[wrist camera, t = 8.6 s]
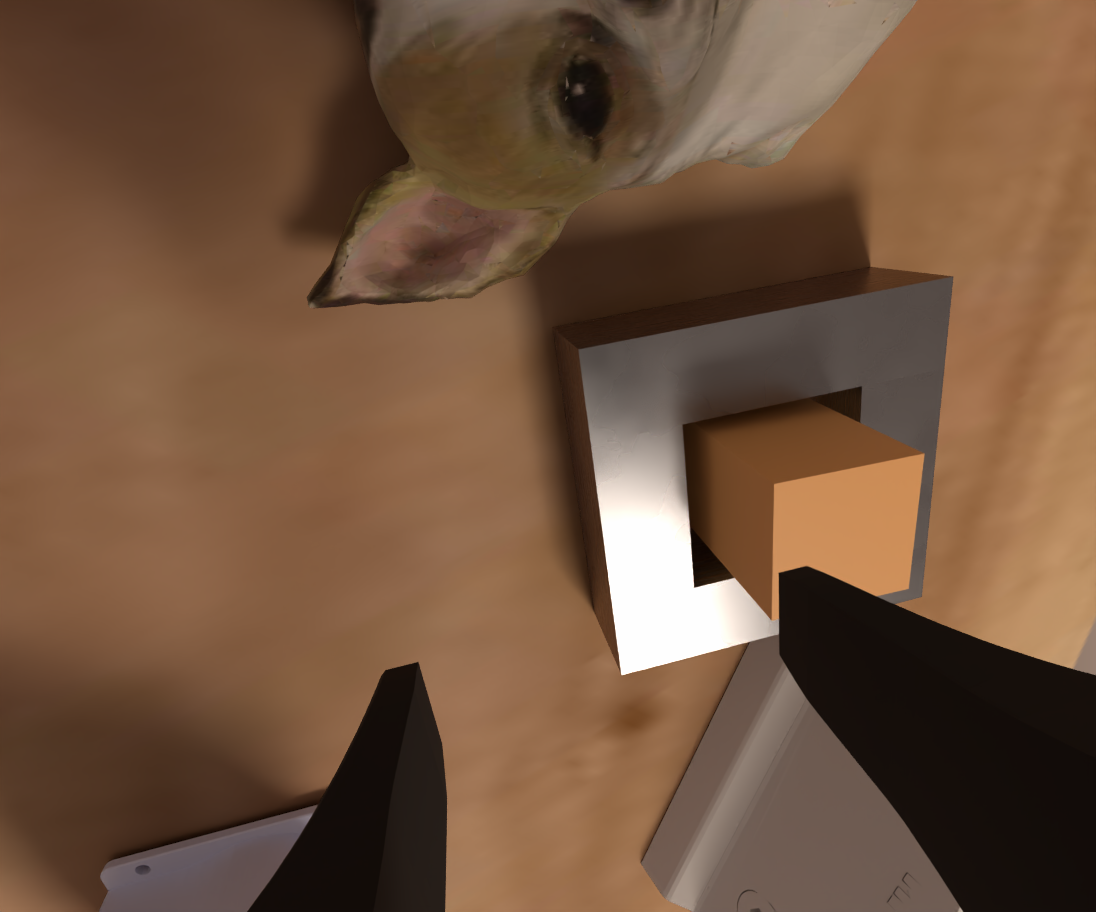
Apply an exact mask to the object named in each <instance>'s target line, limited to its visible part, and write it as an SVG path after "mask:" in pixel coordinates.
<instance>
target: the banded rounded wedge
mask: <svg viewBox="0 0 1096 912" xmlns="http://www.w3.org/2000/svg"><path fill="white" fill-rule="evenodd" d="M641 864H642V866H643V867H644V869H645V870H646V872H647V873H648V875H649V876H650V878H651V879H652V881H653V882H654V884H655V885H656V887H657V888H658V890H659V891H660V893H661V894H662V896H663V897H664V898H665V899H667V900H668V901H670V902H672V903H674V904H677V905H679V906H681V907H684V908H686V909H688V910H690V911H692V912H963V911H962V909H961V908H960V906H959V905H958V903H957V902H956V900H955V898H954V897H953V895H952V894H951V892H950V891H949V889H948V887H947V886H946V884H945V883H944V881H943V880H942V878H941V876H940V875H939V873H938V872H937V870H936V869H935V867H934V866H933V864H932V863H931V862H930V860H929V859H928V857H927V856H926V854H925V853H924V851H923V850H922V848H921V847H920V845H919V844H918V842H917V841H916V839H915V838H914V836H913V835H912V833H911V832H910V830H909V829H908V827H907V826H906V824H905V823H904V821H903V820H902V819H901V817H900V816H899V815H898V813H897V812H896V811H895V809H894V808H893V807H892V805H891V804H890V803H889V801H888V800H887V799H886V797H885V796H884V795H883V794H882V792H881V791H880V790H879V789H878V787H877V786H876V785H875V784H874V783H873V781H872V780H871V779H870V778H869V776H868V775H867V774H866V773H865V771H864V770H863V769H862V768H861V766H860V765H859V764H858V763H857V762H856V760H855V759H854V758H853V757H852V755H851V754H850V753H849V752H848V750H847V749H846V748H845V747H844V745H843V744H842V743H841V742H840V741H839V739H838V738H837V737H836V736H835V734H834V733H833V732H832V731H831V729H830V728H829V727H828V726H827V724H826V723H825V722H824V721H823V719H822V718H821V717H820V716H819V714H818V713H817V712H816V711H815V709H814V708H813V707H812V705H811V704H810V703H809V702H808V700H807V699H806V697H805V696H804V694H803V693H802V691H801V689H800V688H799V686H798V685H797V683H796V682H795V680H794V678H793V677H792V675H791V673H790V672H789V670H788V668H787V667H786V665H785V663H784V662H783V660H782V658H781V657H780V655H779V634H777V635H773V636H770V637H766V638H762V639H758V640H754V641H750V643H749V645H748V647H747V649H746V651H745V653H744V655H743V657H742V659H741V661H740V663H739V665H738V667H737V669H736V671H735V673H734V675H733V677H732V679H731V681H730V683H729V686H728V688H727V690H726V692H725V694H724V696H723V698H722V700H721V702H720V704H719V706H718V708H717V710H716V712H715V714H714V716H713V718H712V720H711V722H710V724H709V726H708V728H707V730H706V732H705V734H704V736H703V738H702V740H701V743H700V745H699V747H698V749H697V751H696V753H695V755H694V757H693V759H692V761H691V763H690V765H689V767H688V769H687V771H686V773H685V775H684V777H683V779H682V781H681V783H680V785H679V787H678V789H677V791H676V793H675V795H674V798H673V800H672V802H671V804H670V806H669V808H668V810H667V812H666V814H665V816H664V818H663V820H662V822H661V824H660V826H659V828H658V830H657V832H656V834H655V836H654V838H653V840H652V842H651V844H650V846H649V848H648V850H647V853H646V855H645V857H644V859H643V861H642V863H641Z"/></svg>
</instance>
